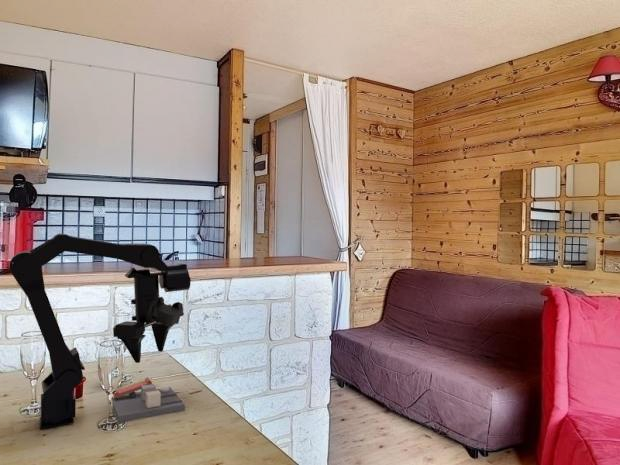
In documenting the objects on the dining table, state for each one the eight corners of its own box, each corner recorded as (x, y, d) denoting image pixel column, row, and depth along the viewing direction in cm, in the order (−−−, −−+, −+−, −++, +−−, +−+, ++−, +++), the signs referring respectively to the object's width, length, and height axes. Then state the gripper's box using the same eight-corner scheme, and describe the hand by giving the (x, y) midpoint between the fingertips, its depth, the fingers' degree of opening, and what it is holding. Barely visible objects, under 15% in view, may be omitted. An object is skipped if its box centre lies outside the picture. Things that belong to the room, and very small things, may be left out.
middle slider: (142, 401, 113) (143, 388, 113) (140, 397, 115) (141, 385, 115) (155, 399, 114) (155, 386, 114) (153, 395, 116) (153, 384, 116)
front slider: (147, 408, 108) (147, 395, 108) (145, 404, 110) (145, 392, 110) (160, 405, 110) (160, 393, 110) (158, 402, 112) (158, 390, 112)
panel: (118, 422, 104) (118, 411, 104) (109, 402, 116) (109, 391, 116) (184, 410, 112) (184, 399, 112) (169, 392, 124) (170, 382, 124)
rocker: (115, 398, 113) (114, 393, 113) (113, 394, 115) (112, 389, 115) (152, 385, 117) (151, 380, 117) (149, 381, 120) (148, 377, 120)
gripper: (151, 302, 103) (154, 371, 103) (195, 288, 120) (197, 347, 121) (110, 301, 106) (113, 368, 106) (158, 288, 124) (161, 345, 124)
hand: (149, 356), depth 114 cm, fingers open, 9 cm apart
